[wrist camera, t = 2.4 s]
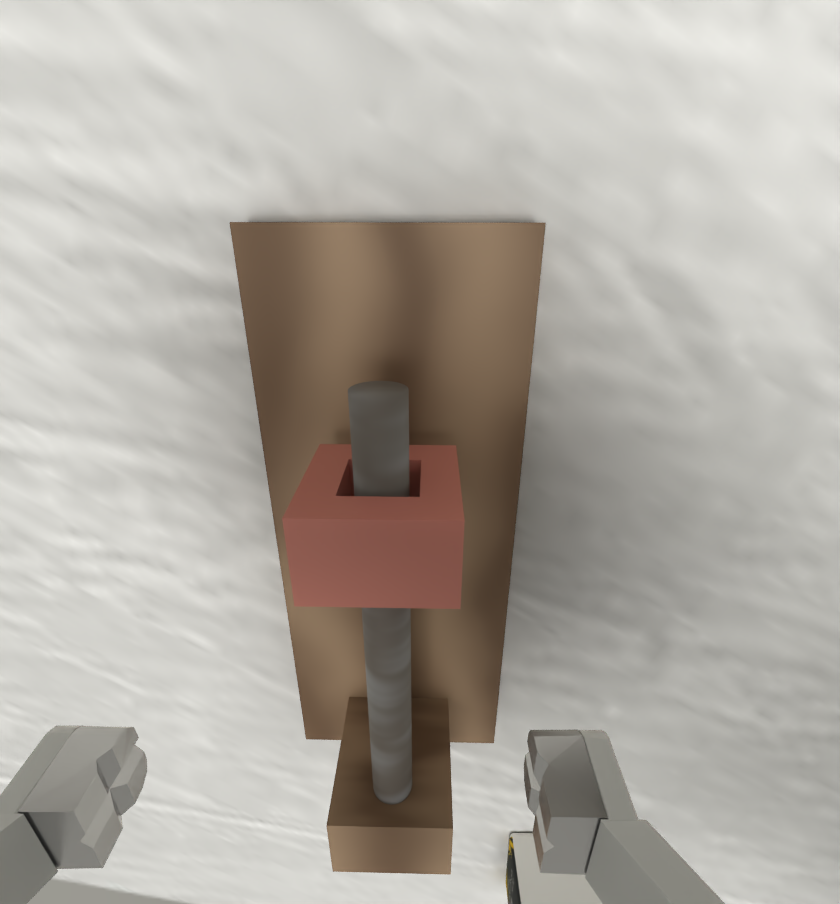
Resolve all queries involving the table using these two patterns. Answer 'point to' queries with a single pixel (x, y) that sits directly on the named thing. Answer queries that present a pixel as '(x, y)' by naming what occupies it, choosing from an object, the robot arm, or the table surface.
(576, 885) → the medicine bottle
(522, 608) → the table surface
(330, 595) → the square nut
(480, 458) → the rod stand
